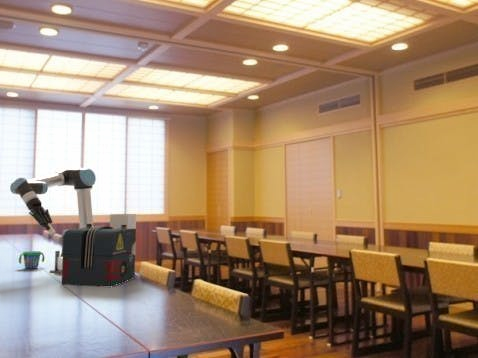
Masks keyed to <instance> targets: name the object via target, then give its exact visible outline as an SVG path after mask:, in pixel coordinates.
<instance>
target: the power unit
mask: <svg viewBox="0 0 478 358" xmlns="http://www.w3.org/2000/svg"><path fill="white" fill-rule="evenodd" d="M86 226H87V227H86V228H79V227H78V228H70V229H66V230H67V231H66V232H65V234H64V238H63V263H62V272H61V285H64V286H65V285H67V286H85V287H100V286H110V287H109V288H112V287H111V286H113V287H115V286H114V285H116V284H119V283H121V284H123V283H122V282H124V283H126V282H125V281H127V280H130V279H132V278H134V279H135V277H136V276H135V273H136V272H135V271H136V270H135V269H136V254H135V255H133V254H132V245H133V244H134V243H135V244H136V242H135V241H136V239H137V238H136V236H137V235H136V234H137V228H136V229H134V228H132V229H127V228H126V227H127V226H126V225H122V226H121V228H113V227H111V226H110V225H96V226H94V227H92V224H87V225H86ZM132 280H133V279H132ZM130 281H131V280H130ZM127 282H128V281H127ZM119 285H120V284H119ZM116 286H117V285H116Z"/></svg>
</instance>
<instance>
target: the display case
mask: <svg viewBox="0 0 478 358" xmlns="http://www.w3.org/2000/svg"><path fill="white" fill-rule="evenodd" d="M109 216H110V217H109V226H111V227H113V228H121V226H122V225H126V226H127V227H126V228H127V229H132V228H134V229H136V230H137V214H134V213H110V215H109ZM136 243H137V242H136V241H135V243H134V244H133V245H132V254H133V255H135V256H136Z"/></svg>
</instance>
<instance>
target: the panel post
mask: <svg viewBox="0 0 478 358" xmlns="http://www.w3.org/2000/svg"><path fill="white" fill-rule="evenodd" d="M54 252H55V253H54V257H55V258H54V259H55V260H54V269H50V270H49V273H50V274H60V273H61V274H62V270H60V269H57V267H58V257H60V256H61V254H60V250H55V251H54Z"/></svg>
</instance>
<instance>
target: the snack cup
mask: <svg viewBox="0 0 478 358" xmlns="http://www.w3.org/2000/svg"><path fill="white" fill-rule="evenodd" d="M19 255H20V256H19V258H18V262H19V264H22V257H23V262H24V263H23V264H24V268H25V269H27V270H28V269H30V270H31V269H37V268H39V264H40V259H41V258H42V259H41V262H45V254H44V252H42V251H39V250H33V251H32V250H29V251H26V250H25V251H22V253H20V254H19ZM41 255H42V257H41Z"/></svg>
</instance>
